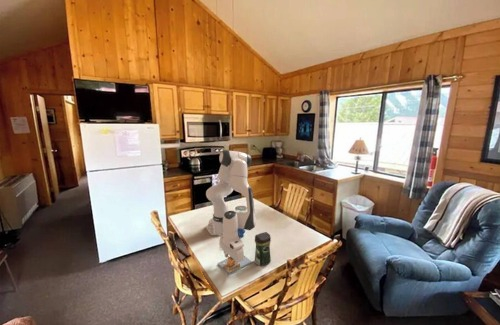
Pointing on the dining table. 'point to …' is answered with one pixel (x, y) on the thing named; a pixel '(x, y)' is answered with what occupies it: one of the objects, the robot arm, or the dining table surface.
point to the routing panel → (242, 263)
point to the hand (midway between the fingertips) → (230, 260)
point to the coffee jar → (262, 248)
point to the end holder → (231, 267)
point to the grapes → (241, 233)
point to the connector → (230, 262)
